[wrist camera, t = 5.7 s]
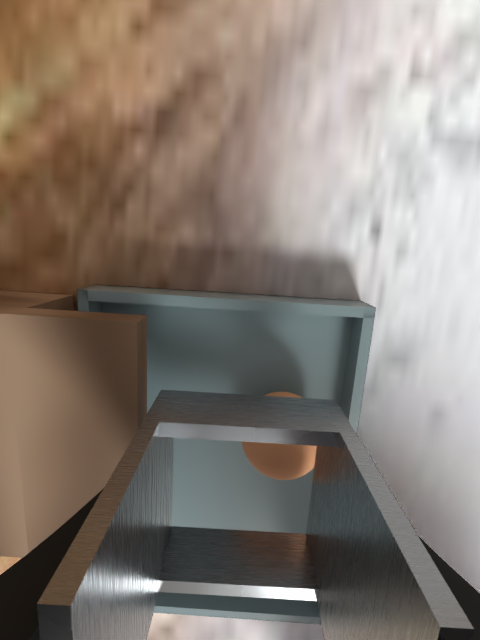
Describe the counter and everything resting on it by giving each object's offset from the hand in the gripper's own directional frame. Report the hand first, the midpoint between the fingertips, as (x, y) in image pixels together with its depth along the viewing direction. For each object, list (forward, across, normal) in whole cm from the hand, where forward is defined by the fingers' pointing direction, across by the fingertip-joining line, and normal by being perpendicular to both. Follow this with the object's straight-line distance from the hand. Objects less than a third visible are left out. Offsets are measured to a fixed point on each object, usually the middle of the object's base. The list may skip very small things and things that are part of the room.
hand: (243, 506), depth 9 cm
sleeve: (+1, 0, 0) cm, 1 cm away
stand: (+6, +8, 0) cm, 10 cm away
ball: (+4, -1, 0) cm, 4 cm away
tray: (+6, +1, +2) cm, 6 cm away
